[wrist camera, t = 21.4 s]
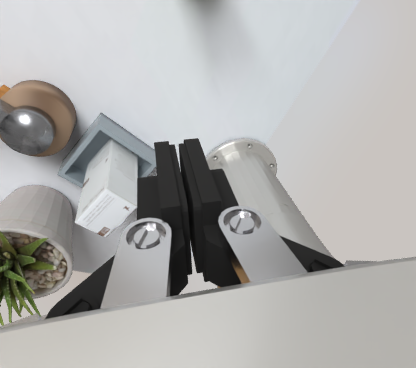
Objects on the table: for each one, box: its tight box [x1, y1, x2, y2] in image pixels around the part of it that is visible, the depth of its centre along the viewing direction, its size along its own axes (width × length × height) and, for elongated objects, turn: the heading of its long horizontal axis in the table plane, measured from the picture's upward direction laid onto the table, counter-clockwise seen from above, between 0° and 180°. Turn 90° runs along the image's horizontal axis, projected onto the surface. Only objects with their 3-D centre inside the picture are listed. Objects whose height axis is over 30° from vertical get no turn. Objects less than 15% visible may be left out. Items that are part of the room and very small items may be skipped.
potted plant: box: [0, 185, 73, 326], centre depth 37 cm, size 13×14×20 cm
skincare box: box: [75, 138, 138, 237], centre depth 37 cm, size 6×4×12 cm
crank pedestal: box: [0, 80, 76, 157], centre depth 36 cm, size 9×8×4 cm
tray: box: [57, 113, 156, 188], centre depth 41 cm, size 9×9×4 cm
